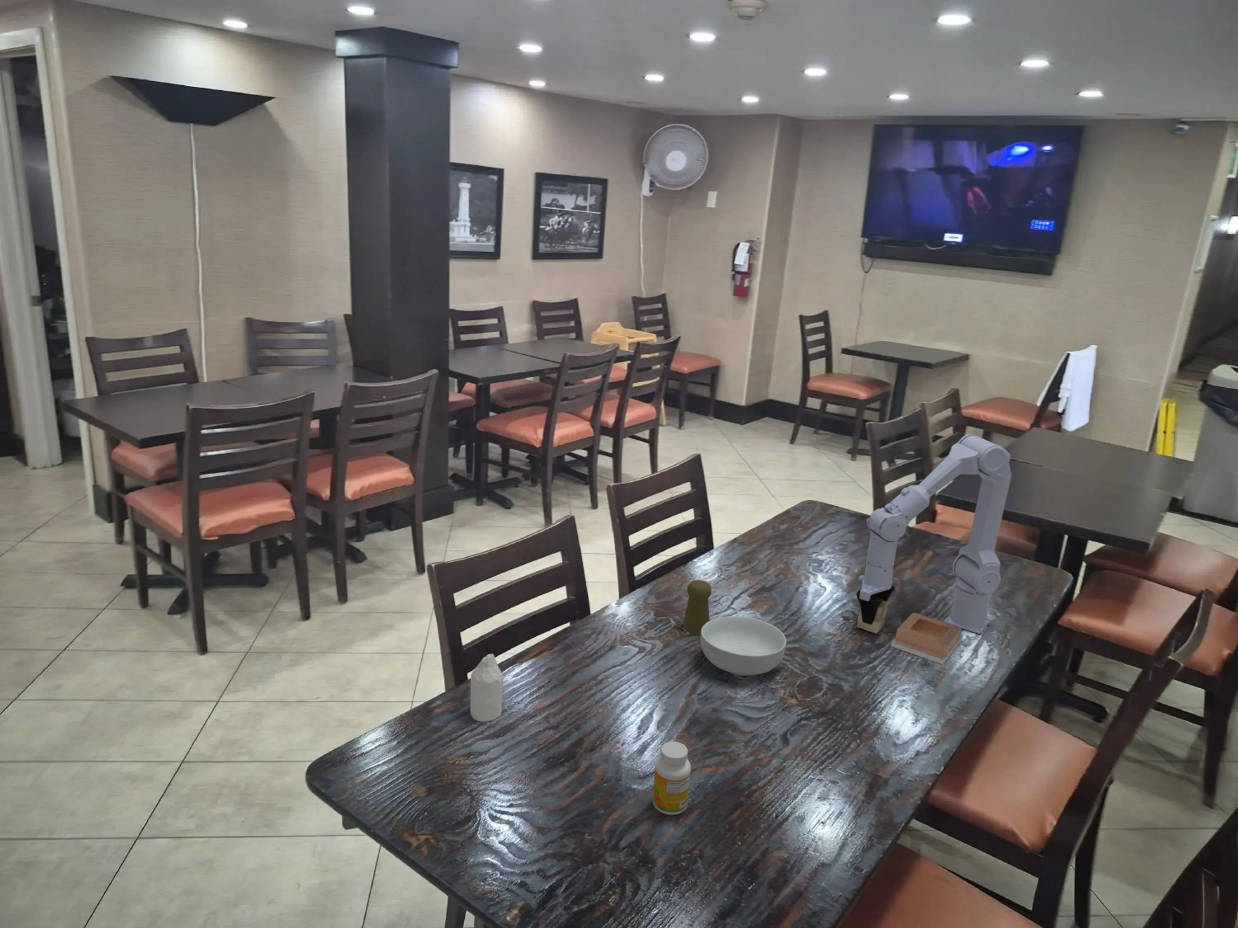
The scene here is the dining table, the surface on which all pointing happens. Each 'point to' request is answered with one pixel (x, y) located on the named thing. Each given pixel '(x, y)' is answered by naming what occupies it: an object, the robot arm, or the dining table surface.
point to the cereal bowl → (742, 645)
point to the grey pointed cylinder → (486, 690)
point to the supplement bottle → (672, 779)
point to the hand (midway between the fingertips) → (871, 618)
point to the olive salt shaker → (697, 606)
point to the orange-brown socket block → (927, 638)
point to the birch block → (878, 620)
